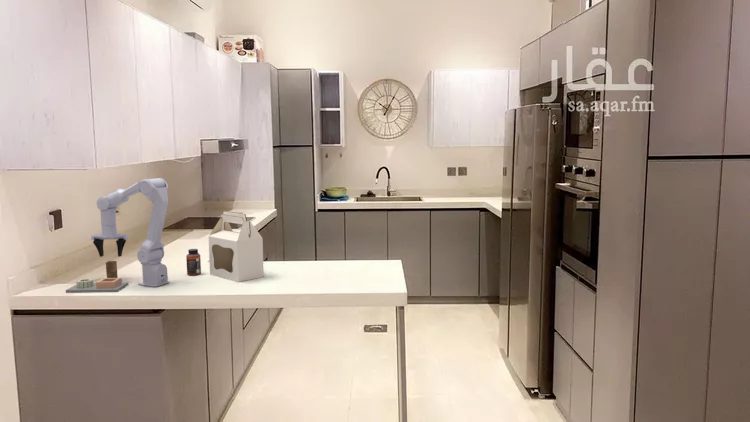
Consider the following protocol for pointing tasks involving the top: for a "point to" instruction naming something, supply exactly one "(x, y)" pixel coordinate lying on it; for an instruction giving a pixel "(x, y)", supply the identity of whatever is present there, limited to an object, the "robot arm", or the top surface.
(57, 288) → the top surface
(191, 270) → the supplement bottle
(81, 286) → the socket block
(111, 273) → the square bit
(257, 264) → the gable box
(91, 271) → the top surface
